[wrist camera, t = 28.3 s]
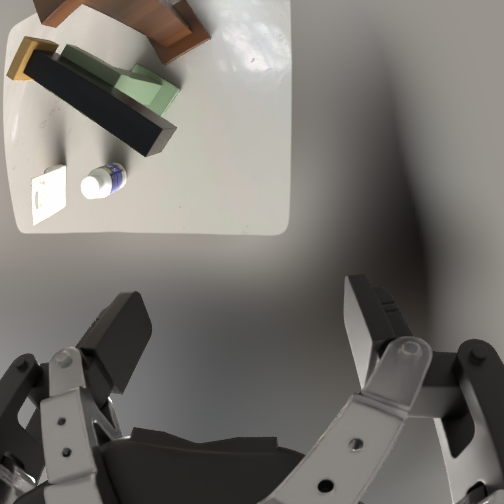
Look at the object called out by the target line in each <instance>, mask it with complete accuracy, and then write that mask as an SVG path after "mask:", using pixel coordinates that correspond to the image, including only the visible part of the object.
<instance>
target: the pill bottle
mask: <svg viewBox="0 0 504 504" xmlns="http://www.w3.org/2000/svg"><path fill="white" fill-rule="evenodd" d="M125 182H126V171H125V169H124V168H123V166H121V165H120V164H118V163H110V164H107V165H105V166H102V167H99V168H96V169H94V170H92V171H91V172H90V173H89V175H88V176H86V177H84V178H83V180H82V182H81V190H82V192H83V194H84V195H85V196H86V197H87V198H90V199H92V198H95V197H97V198H102V197H105V196H107V195H109V194H111V193H113V192H115V191H117V190H119V189H120V188H122V187H123V186H124V184H125Z"/></svg>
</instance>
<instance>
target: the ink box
mask: <svg viewBox="0 0 504 504" xmlns="http://www.w3.org/2000/svg"><path fill="white" fill-rule="evenodd" d="M31 181H32V182H31V183H32V184H31V187H32V209H33V224H34V225H35V224H37V223H38V222H40V221H42V220H43V219H45V218H47V217H49V216H50V215H52V214H54V213H55V212H57V211H58V210H60V209H62V208H63V207H65V187H66V165H61V164H57V165H54V166H52V167H49V168H47V169H46V170H45V171H44V174H43V175H40V176H37V177H34V178H32V179H31ZM36 191H38V209H36V204H35V203H34V199H35V192H36Z"/></svg>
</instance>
